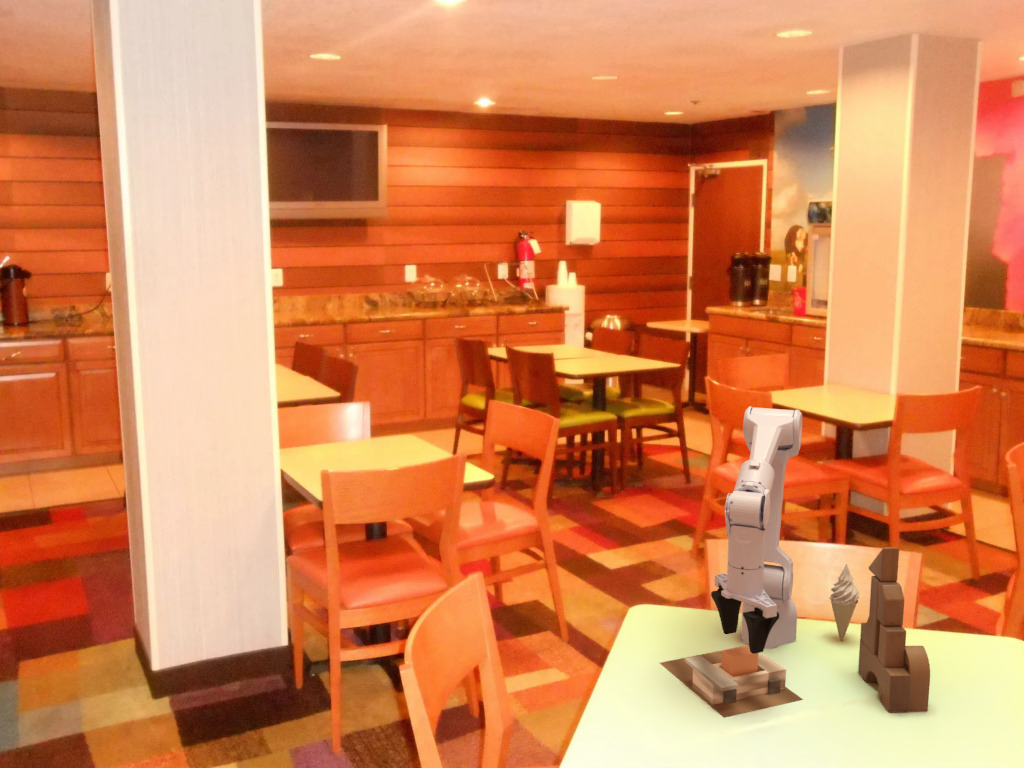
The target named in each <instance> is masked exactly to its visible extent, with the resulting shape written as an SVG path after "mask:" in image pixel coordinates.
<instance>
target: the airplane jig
mask: <svg viewBox="0 0 1024 768" xmlns="http://www.w3.org/2000/svg"><path fill="white" fill-rule="evenodd" d="M659 664H660V665H661V666H662V667H664V668H665V669H666V670H667V671H668V672H669V673H670V674H672V675H673V676H674V677H675V678H676V679H678V681H680V682H681V683H682V684H683V685H685V686H686V687H687V688H688V689H689V690H691V691H692V692H693V693H694V694H695V695H697V696H698V697H699V698H700V699H701V700H702V701H704V703H705V704H707V705H709V707H711V709H713V710H714V711H715V712H717V713H718V714H719V715H720V716H721V717H722V718H729V717H733V716H738V715H742V714H747V713H750V712H751V713H752V712H756V711H759V710H765V709H768V708H773V707H778V706H782V705H785V704H786V705H787V704H791V703H795V702H800V701H803V700H804V699H803V698H802V697H800V696H799V695H797V694H796V693H795V692H794V691H793V690H791V689H790V688H788V687H786V679H787V678H786V676H787V669H786V668H785V667H784V666H782V665H781V664H779V663H777V662H776V661H775V660H774V659H772V658H771V657H770V656H768V655H767V654H765V653H761V654H758V672H755V673H751V674H746V675H741V676H736V677H733V676H731V675H730V674H729V673H727V672H726V671H725V670H723V669H722V668H721V667H722V650H717V651H713V652H707V653H703V654H702V653H701V654H697V655H693V656H687V657H683V658H677V659H672V660H668V661H667V660H666V661H662V662H659Z"/></svg>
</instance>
